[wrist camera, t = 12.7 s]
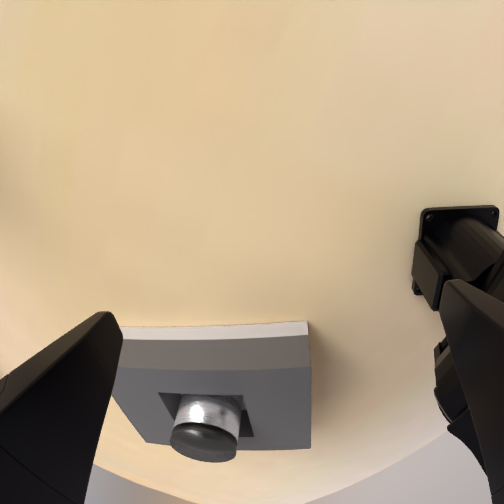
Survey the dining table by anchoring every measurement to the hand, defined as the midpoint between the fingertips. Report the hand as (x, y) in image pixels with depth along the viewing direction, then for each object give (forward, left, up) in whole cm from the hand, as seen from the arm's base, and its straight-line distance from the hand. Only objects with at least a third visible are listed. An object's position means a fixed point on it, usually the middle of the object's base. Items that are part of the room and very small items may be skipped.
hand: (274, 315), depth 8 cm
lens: (+7, +17, -10) cm, 21 cm away
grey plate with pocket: (+7, +17, -12) cm, 22 cm away
